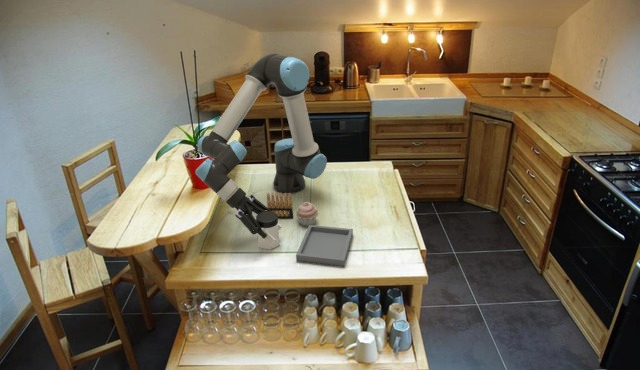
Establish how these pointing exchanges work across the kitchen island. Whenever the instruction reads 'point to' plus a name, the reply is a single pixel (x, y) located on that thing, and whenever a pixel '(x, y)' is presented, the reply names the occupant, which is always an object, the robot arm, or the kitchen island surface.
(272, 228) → the jar
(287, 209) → the ammunition clip
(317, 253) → the tray
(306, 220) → the cupcake
